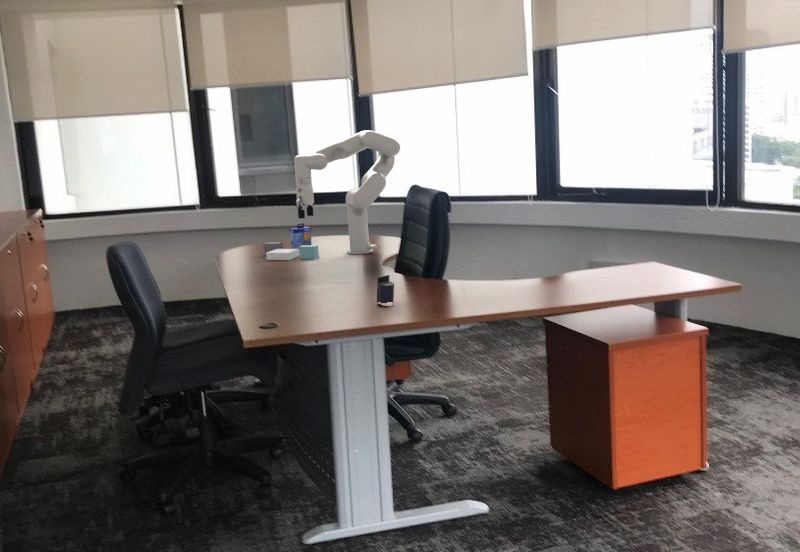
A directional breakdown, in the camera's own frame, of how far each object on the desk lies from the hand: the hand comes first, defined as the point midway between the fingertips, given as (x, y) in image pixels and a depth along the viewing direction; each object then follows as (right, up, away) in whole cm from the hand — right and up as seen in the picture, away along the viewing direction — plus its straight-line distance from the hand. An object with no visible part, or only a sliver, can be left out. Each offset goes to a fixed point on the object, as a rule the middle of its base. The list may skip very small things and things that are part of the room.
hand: (306, 217), depth 436 cm
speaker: (+40, -39, -111) cm, 124 cm away
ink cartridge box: (-5, -16, +26) cm, 31 cm away
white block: (-12, -19, +8) cm, 24 cm away
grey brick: (-18, -18, +21) cm, 33 cm away
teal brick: (+1, -20, +4) cm, 20 cm away
